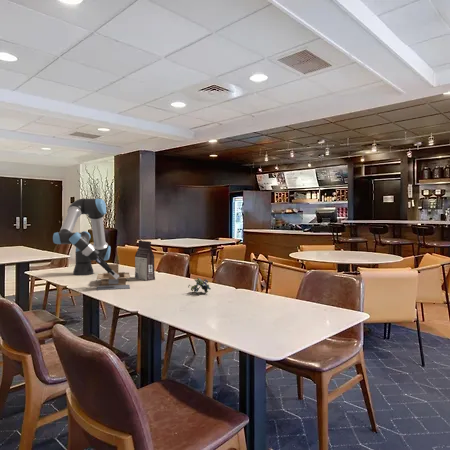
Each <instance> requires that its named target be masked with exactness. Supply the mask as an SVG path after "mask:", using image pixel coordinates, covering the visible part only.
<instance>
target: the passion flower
mask: <svg viewBox="0 0 450 450" xmlns="http://www.w3.org/2000/svg"><path fill="white" fill-rule="evenodd" d="M194 281H195V282H196V284H194V285H191V284H188V285H187V286H188V287H187V288H190V291H191V292H195V293H194V295H197V292H198V291H199V289H200V288H201V289H202V291H203V290H204V293H206V294H207V293H209V290H210V291H211V287H210V285H209V284H208V283H209V281H208V279H206V278H205V277H204V278H203V279H202V278H199V277H197V279H196V278H194ZM198 286H199V287H198Z"/></svg>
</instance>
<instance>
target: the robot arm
mask: <svg viewBox="0 0 450 450" xmlns="http://www.w3.org/2000/svg"><path fill="white" fill-rule="evenodd" d="M106 205H107V204H106V202H105V200H104V199H102V198H79V199H77V200H75V201H74V202H72V203H71V204H70V205H69V206H68V208H67V210H66V211H67V212H66V213H67V214H66V216H65V219H64V220H63V223H62V225H61V228H60V230H59V232H58V231H57V232H54V233H53V235H52V242H53V244H55V245H73V246H74V247H75V251H74V252H75V265H74V268H73V272H72V274H73V275H74V276H88V275H93V274H94V273H95V272H94V268H93V264H92V261H95V263H97V264H98V265H99V266H100V267H102V268H103V269H104V270H105V271H106V273H110V274H111V275H112V276H113V277H114V278H115V279H117V278H118V277H119V274H116V273H115V272H114V271H113V270H112V269H111V268H109V264H110V263H107V262H106V261H108V260H110V256H111V252H112V251H111V249H112V248H111V245H109V244H108V242H106V233H105V226H104V220H103V219H104V217H105V215H106V214H107V206H106ZM81 215H87V217H88V218H89V219H90V223H91V230H92V237H93V238H92V237H91V234H90V232H88V231H85V230H84V231H80V232H78V231H76V232H74V228H75V227H76V224H77V222H78V219H79V217H81ZM91 238H92V239H93V244H92V243H91V242H90V240H91Z"/></svg>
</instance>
